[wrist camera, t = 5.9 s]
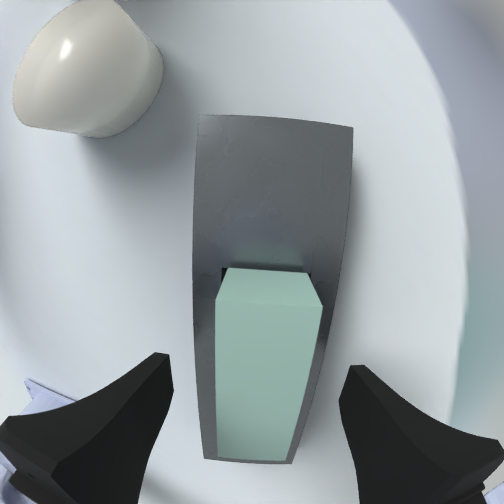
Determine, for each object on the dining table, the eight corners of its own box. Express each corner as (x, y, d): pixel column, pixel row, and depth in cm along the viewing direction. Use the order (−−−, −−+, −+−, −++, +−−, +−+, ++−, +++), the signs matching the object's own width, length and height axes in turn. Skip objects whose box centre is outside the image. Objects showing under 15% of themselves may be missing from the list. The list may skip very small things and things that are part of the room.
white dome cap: (156, 132, 12) (104, 112, 7) (63, 144, 12) (3, 139, 7) (171, 29, 11) (139, -20, 6) (80, 51, 11) (32, 24, 6)
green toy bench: (280, 381, 15) (285, 460, 9) (230, 378, 15) (217, 456, 9) (297, 253, 13) (322, 306, 7) (235, 249, 13) (215, 300, 8)
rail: (289, 438, 17) (291, 464, 14) (209, 433, 17) (203, 458, 14) (337, 137, 12) (353, 127, 9) (210, 127, 12) (199, 115, 9)
